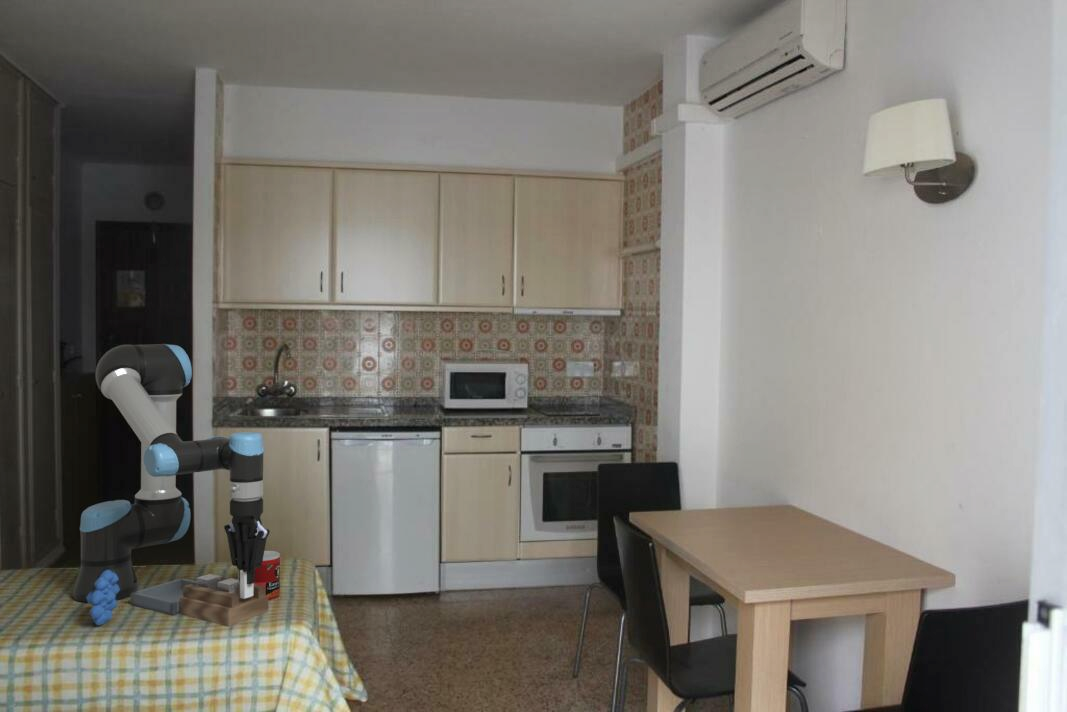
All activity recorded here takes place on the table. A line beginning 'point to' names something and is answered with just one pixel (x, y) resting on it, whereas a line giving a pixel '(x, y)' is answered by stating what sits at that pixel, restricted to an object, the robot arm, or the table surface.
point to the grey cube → (229, 586)
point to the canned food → (269, 574)
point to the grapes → (103, 597)
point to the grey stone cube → (208, 581)
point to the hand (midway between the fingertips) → (246, 596)
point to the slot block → (222, 604)
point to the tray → (162, 596)
